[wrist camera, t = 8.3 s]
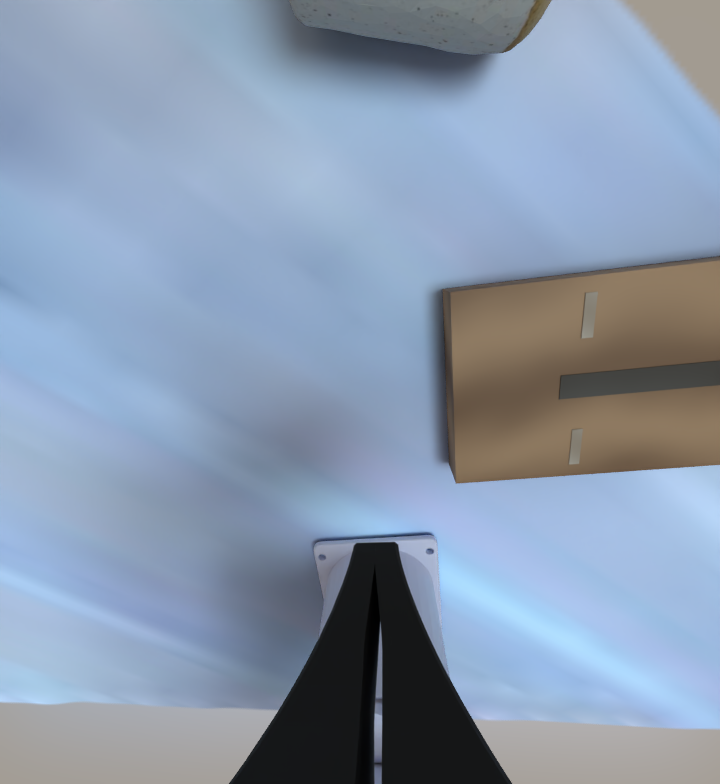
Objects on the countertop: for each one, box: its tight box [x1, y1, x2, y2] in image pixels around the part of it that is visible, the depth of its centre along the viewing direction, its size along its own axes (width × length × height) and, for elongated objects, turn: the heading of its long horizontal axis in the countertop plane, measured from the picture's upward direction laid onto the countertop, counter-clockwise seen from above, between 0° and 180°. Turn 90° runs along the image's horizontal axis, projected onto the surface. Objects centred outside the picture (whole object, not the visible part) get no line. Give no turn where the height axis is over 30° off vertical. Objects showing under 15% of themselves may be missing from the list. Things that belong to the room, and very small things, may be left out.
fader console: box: [443, 256, 720, 483], centre depth 17 cm, size 10×24×2 cm, turn 97°
